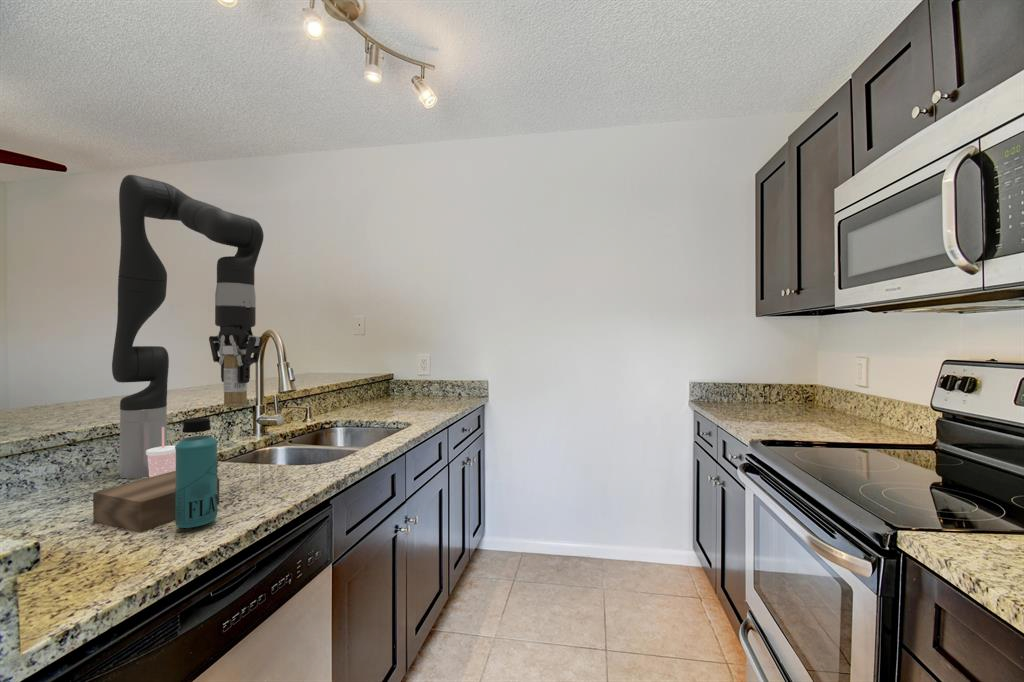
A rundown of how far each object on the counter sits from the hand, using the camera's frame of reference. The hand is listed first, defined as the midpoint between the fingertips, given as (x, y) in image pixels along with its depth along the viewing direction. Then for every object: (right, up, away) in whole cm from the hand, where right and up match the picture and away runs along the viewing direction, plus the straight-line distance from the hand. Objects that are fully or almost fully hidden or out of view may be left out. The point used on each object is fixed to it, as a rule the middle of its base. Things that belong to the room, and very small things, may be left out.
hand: (235, 382), depth 94 cm
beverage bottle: (+4, -25, -17) cm, 31 cm away
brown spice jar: (0, -6, 0) cm, 6 cm away
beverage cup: (-20, -25, +5) cm, 32 cm away
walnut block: (-8, -25, -10) cm, 29 cm away
